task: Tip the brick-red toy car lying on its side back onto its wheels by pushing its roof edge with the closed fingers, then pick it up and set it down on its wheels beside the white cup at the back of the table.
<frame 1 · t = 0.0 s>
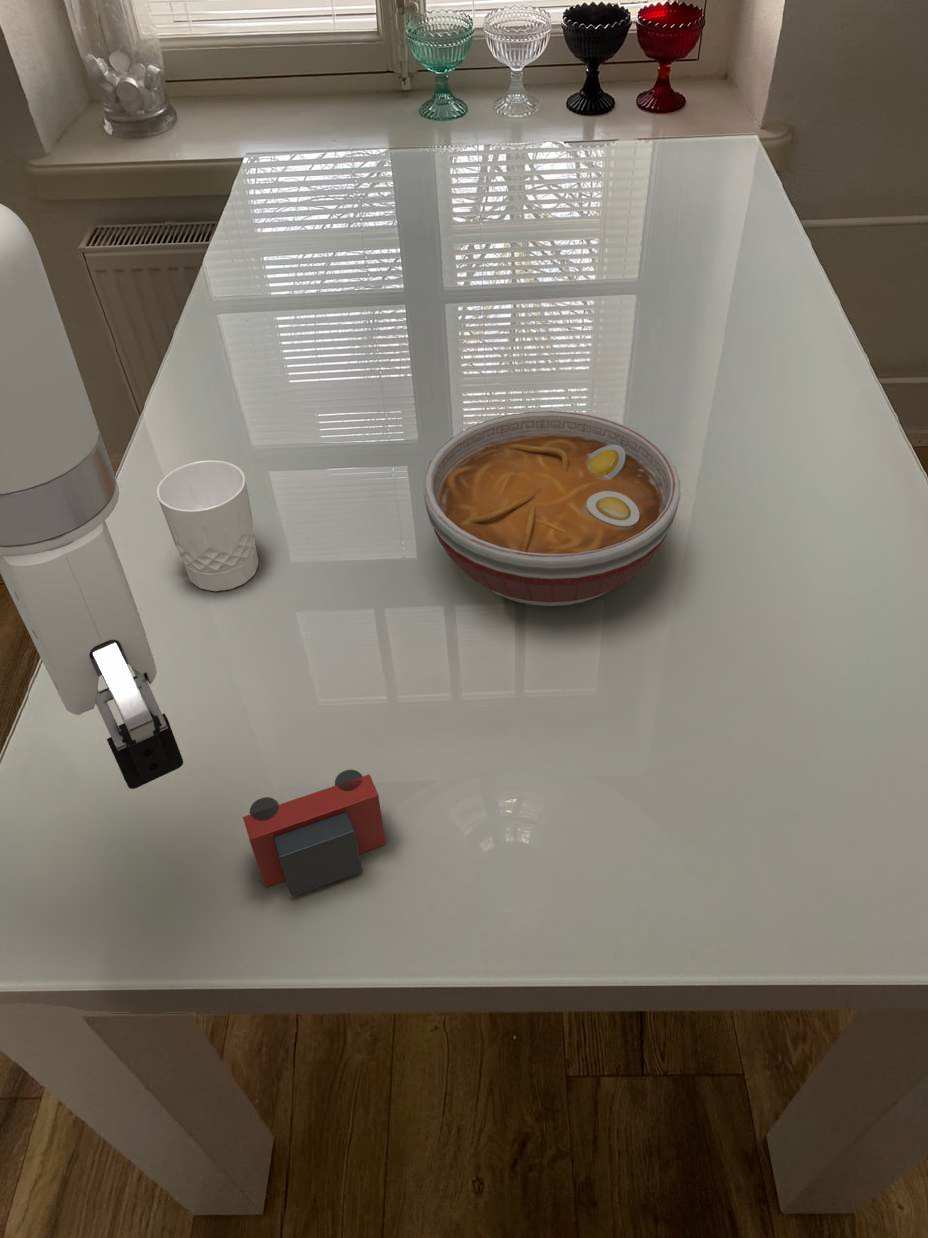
hand: (128, 719, 57), 17 cm above the table, tool pointing down, fingers open, 9 cm apart
toy car: (324, 860, 69), on the table
white cup: (224, 570, 93), on the table
bowl: (547, 564, 92), on the table
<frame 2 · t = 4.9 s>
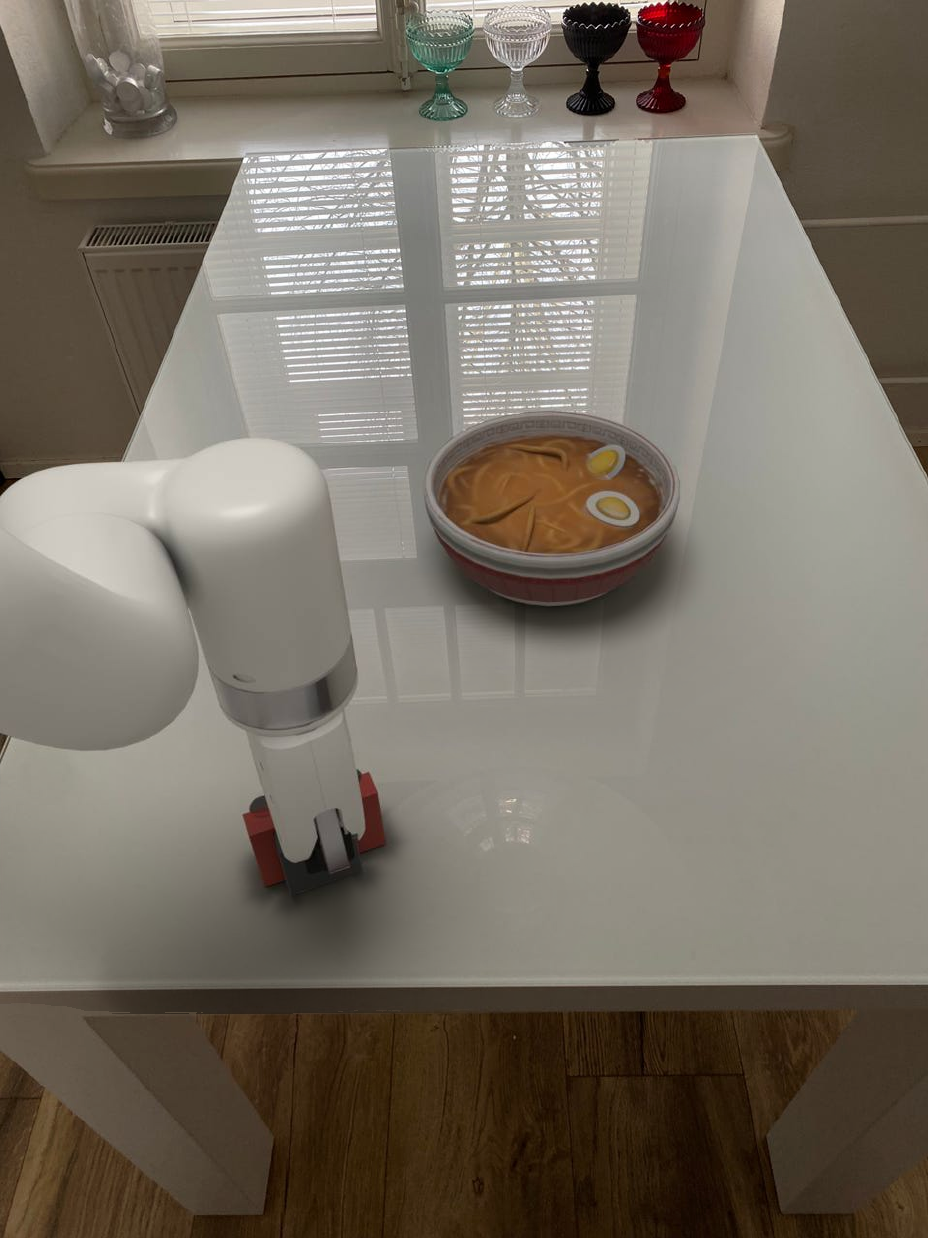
hand: (328, 857, 63), 5 cm above the table, tool pointing down, fingers closed
toy car: (324, 860, 69), on the table, touching gripper
everything else where it was.
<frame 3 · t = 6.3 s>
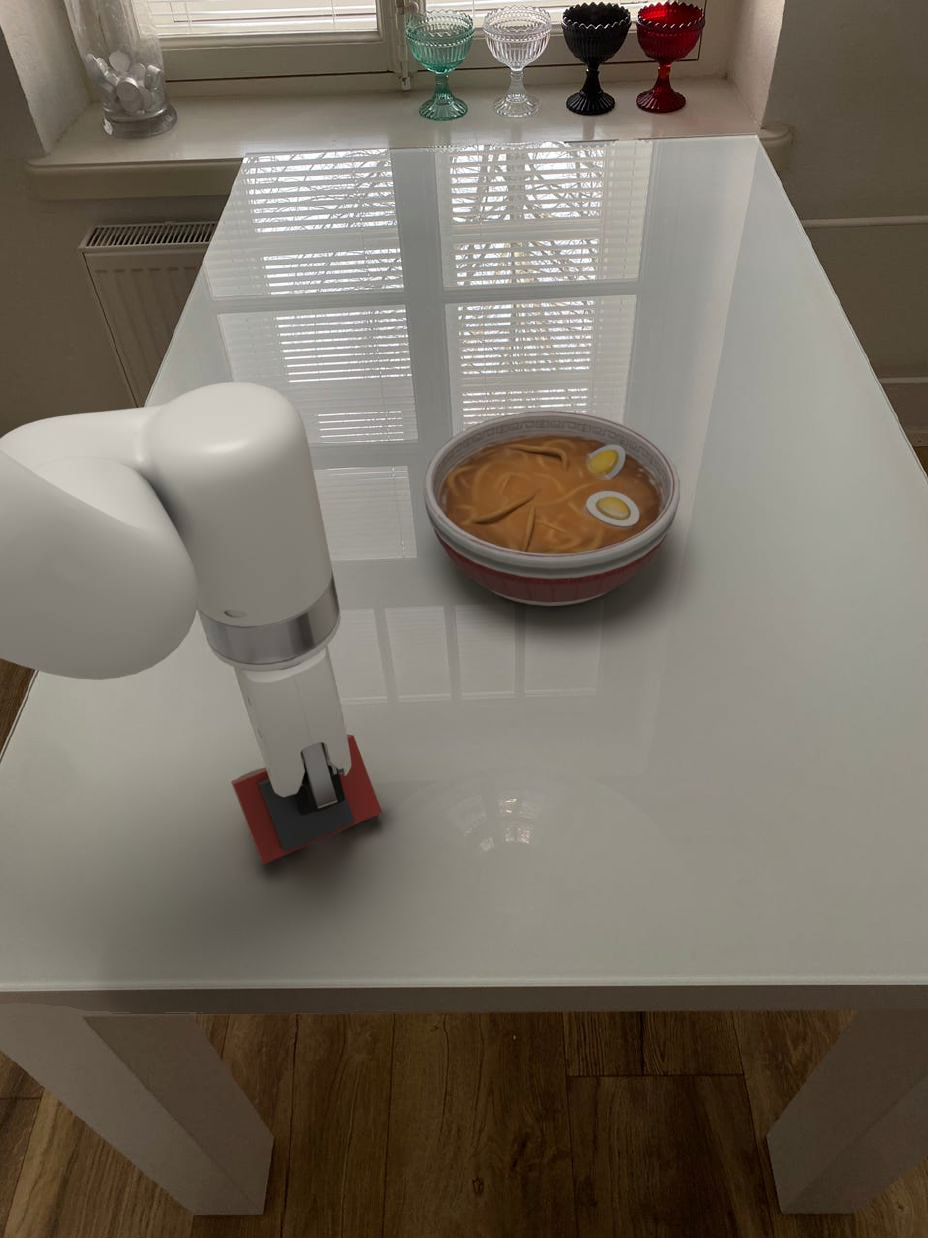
hand: (319, 799, 65), 6 cm above the table, tool pointing down, fingers closed
toy car: (323, 837, 68), point 2 cm above the table, tilted 44°, touching gripper
everything else where it was.
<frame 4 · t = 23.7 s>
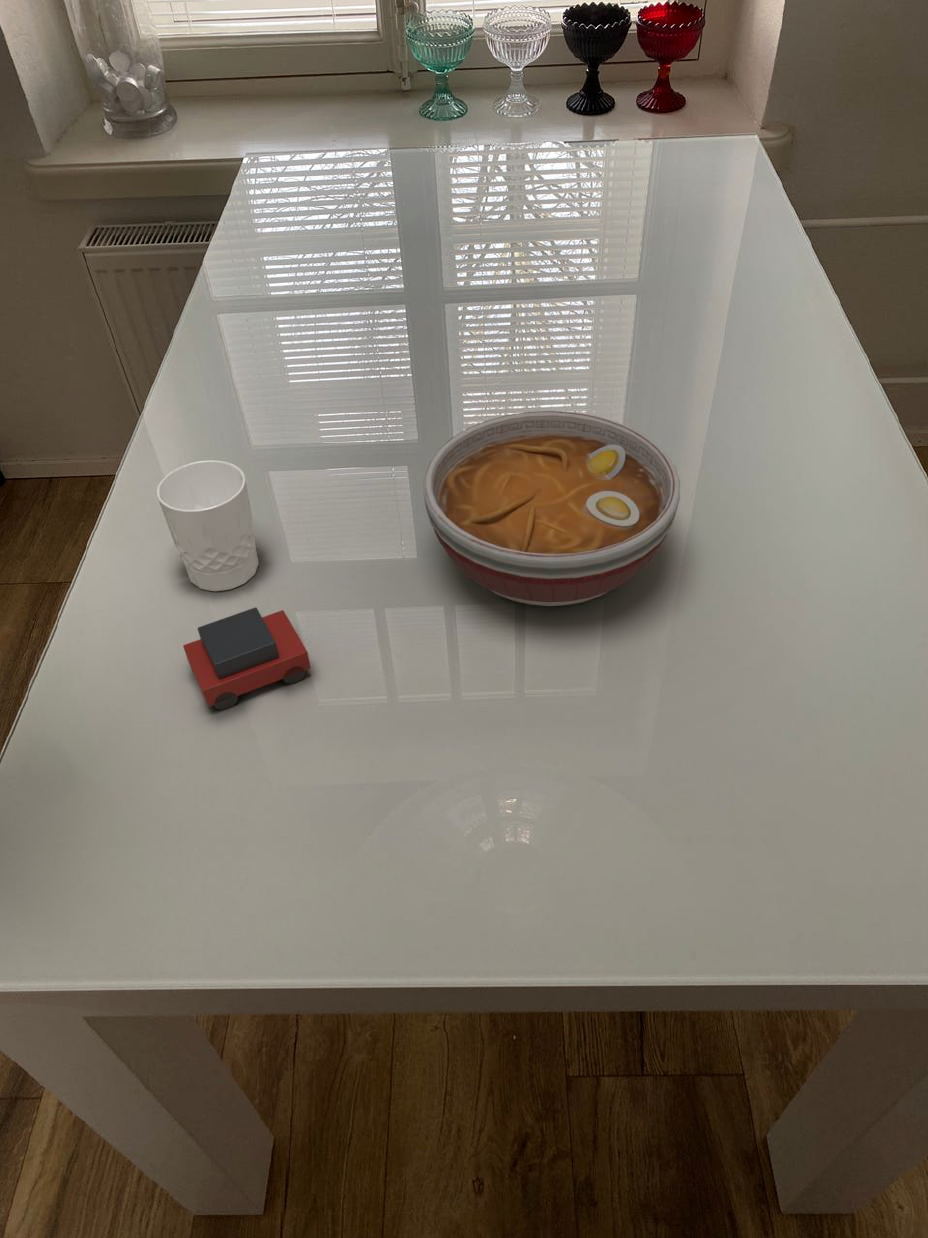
toy car: (257, 675, 79), point 2 cm above the table, tilted 90°
everything else where it was.
at the end: toy car tilted 90°; toy car 17.8 cm from the white cup (horizontally); the gripper is holding nothing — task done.
